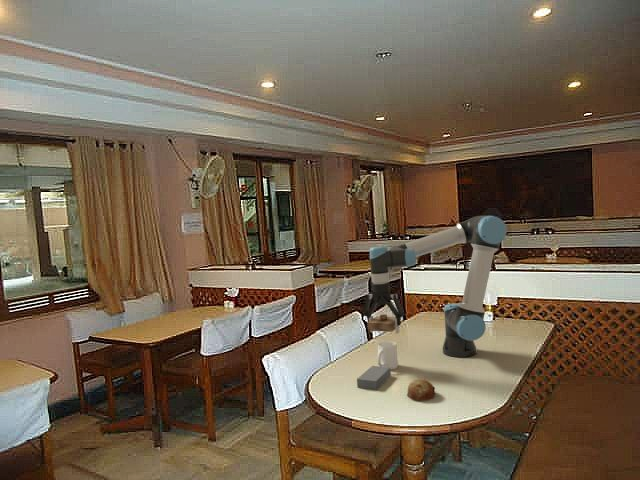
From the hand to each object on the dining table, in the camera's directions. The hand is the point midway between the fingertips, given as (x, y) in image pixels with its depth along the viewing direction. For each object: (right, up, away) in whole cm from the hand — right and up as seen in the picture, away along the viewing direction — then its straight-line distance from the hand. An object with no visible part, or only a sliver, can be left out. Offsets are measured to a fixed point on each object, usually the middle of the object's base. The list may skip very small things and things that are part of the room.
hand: (384, 332), depth 206 cm
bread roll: (+9, -18, -31) cm, 37 cm away
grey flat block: (-6, -17, -13) cm, 23 cm away
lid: (0, +2, 0) cm, 2 cm away
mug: (+1, -16, +1) cm, 16 cm away
